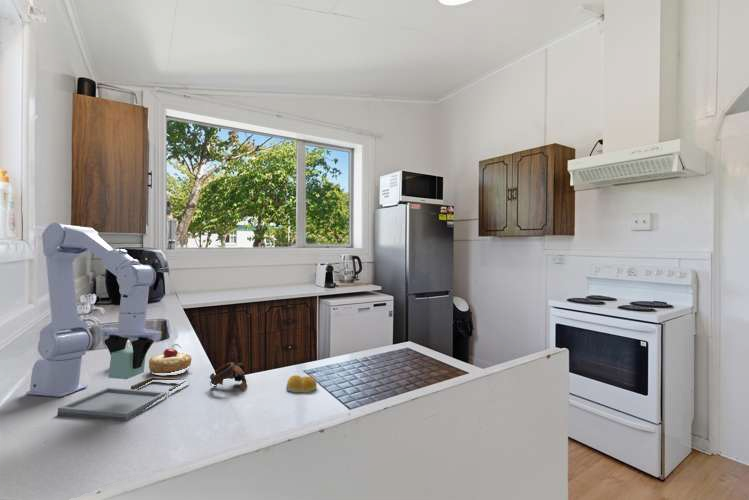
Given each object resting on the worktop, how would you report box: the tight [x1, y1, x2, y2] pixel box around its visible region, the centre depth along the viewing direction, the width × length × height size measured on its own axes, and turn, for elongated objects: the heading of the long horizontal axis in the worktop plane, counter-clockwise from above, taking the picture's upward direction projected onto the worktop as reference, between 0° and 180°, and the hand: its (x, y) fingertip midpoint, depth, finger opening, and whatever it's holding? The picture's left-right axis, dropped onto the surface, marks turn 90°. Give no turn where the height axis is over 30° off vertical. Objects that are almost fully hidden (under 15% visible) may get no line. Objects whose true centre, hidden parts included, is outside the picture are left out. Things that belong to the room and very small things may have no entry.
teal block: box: [108, 347, 147, 380], centre depth 88 cm, size 4×6×6 cm
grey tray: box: [57, 386, 168, 422], centre depth 85 cm, size 16×14×2 cm
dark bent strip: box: [130, 376, 186, 392], centre depth 99 cm, size 11×9×2 cm
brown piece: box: [209, 361, 248, 392], centre depth 104 cm, size 12×10×8 cm
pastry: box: [148, 343, 192, 373], centre depth 113 cm, size 12×12×9 cm
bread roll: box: [285, 374, 318, 394], centre depth 106 cm, size 8×9×4 cm
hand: (127, 367), depth 87 cm, fingers closed on teal block, 4 cm apart
